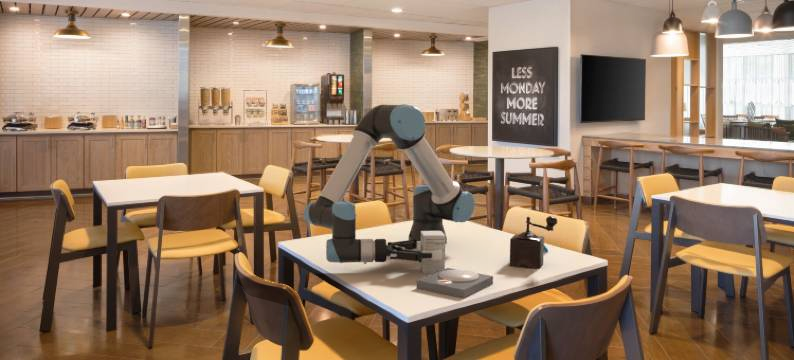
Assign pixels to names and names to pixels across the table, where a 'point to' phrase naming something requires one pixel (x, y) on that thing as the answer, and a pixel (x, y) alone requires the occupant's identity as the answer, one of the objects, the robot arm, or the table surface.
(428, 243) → the supplement box
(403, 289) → the table surface
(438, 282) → the scale
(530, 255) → the manual coffee grinder
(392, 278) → the table surface
